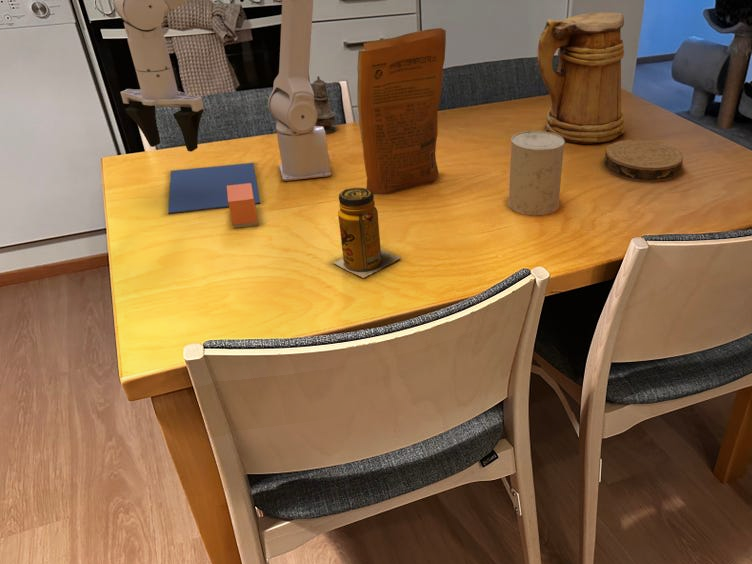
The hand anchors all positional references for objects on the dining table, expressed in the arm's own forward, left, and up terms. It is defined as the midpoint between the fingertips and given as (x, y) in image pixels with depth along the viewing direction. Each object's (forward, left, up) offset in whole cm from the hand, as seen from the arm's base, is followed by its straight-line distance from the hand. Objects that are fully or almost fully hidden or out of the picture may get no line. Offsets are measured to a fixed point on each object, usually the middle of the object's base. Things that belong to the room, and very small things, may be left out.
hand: (174, 147), depth 124 cm
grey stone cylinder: (-62, +20, -10) cm, 66 cm away
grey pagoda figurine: (-30, -31, -10) cm, 44 cm away
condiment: (-28, +33, -10) cm, 44 cm away
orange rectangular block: (-10, +12, -10) cm, 18 cm away
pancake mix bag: (-41, +5, -10) cm, 42 cm away
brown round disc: (-91, +9, -10) cm, 92 cm away
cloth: (-5, -4, -10) cm, 12 cm away
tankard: (-86, -14, -10) cm, 88 cm away
